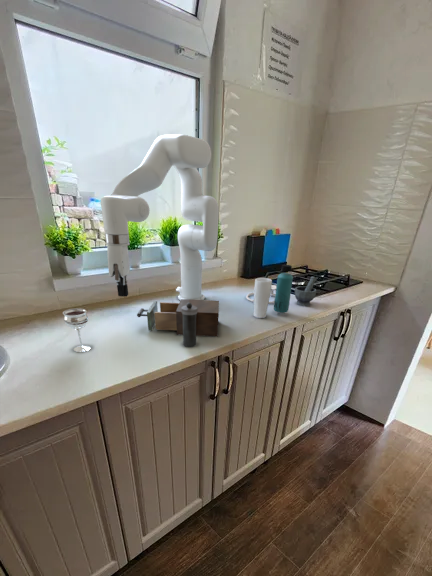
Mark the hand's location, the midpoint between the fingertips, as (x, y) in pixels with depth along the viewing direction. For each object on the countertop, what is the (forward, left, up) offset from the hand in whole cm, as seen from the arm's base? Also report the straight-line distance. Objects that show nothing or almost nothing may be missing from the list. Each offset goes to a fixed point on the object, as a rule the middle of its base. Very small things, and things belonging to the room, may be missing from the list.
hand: (123, 295), depth 114 cm
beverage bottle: (+38, +52, -12) cm, 65 cm away
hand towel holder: (+22, +68, -12) cm, 72 cm away
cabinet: (+22, +16, -11) cm, 29 cm away
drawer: (+11, +8, -10) cm, 17 cm away
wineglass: (+5, -22, -12) cm, 26 cm away
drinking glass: (+33, +43, -12) cm, 55 cm away
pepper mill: (+29, +2, -11) cm, 31 cm away
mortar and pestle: (+40, +73, -12) cm, 84 cm away
